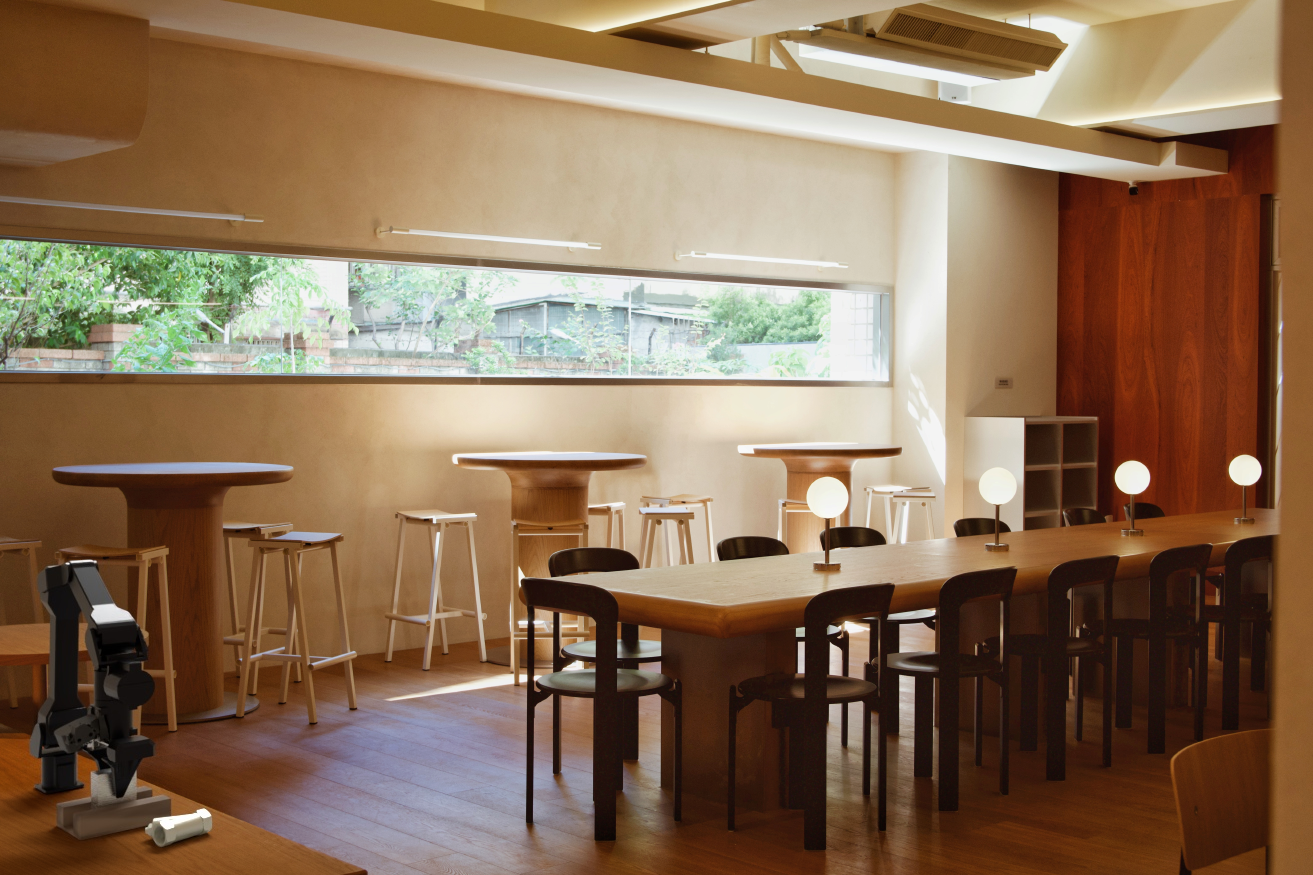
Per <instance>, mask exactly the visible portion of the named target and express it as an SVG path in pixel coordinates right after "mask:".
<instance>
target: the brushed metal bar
mask: <svg viewBox="0 0 1313 875" xmlns="http://www.w3.org/2000/svg"><path fill="white" fill-rule="evenodd" d="M137 779H138V778H137V771H136V772H135V774H134V776H133V778H132V780H131V782H130V784H129V786H128V788H127V791H126V793H125V795H124V797H122V798H116V796H115V791H114V785H113V779H112V772H111V768H108V769H102V770H98V769H97V770H92V771H90V797H91V810H92V809H97V808H102V807H107V806H111V805H116V804H121V803H126V802H131V801H135V800H137V787H138V786H137V784H138V783H137V782H138V780H137Z"/></svg>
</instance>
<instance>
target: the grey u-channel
mask: <svg viewBox="0 0 1313 875" xmlns="http://www.w3.org/2000/svg"><path fill="white" fill-rule="evenodd" d="M153 791H154V790H153V788H151V787H148V786H146V785H143V786H137V800H135V801H131V802H126V803H121V804H116V805H111V806H107V807H102V808H97V809H92V810H91V796H88V797H87V796H86V797H83V798H79V799H78V798H77V799H72V800H67V801H64V802H57V803H56V827H57V828H59V829H61V830H63V831H64V832H66V833H68V834H70V836H73V837H74V838H76V839H77V840H79V841H85V840H88V839H89V840H90V839H94V838H98V837H103V836H107V835H111V834H115V833H119V832H123V831H128V830H129V831H130V830H133V829H138V828H142V827H146V826H147V827H148V826H149V824H151V823H152V822H153V819H154V818H163V817H171V816H172V798H171V797H169V796H168V795H165V794H160V795H156V796H153Z"/></svg>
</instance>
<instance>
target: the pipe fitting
mask: <svg viewBox="0 0 1313 875" xmlns="http://www.w3.org/2000/svg"><path fill="white" fill-rule="evenodd" d="M212 829H213V818H212V815H211V813H210V812H209V811H208V810H207V809H205V808H201V809H197V810H196V811H194V812H193V813H191V814H189V813H188V814H181V815H171V817H163V818H154V819H153V822H152V823H151V824H149V825H147V827H146V826H145V828H144V830H145V831H144V832H145V834H146V835H147V834H148V836H149V837H152V840H153V841H154V843H155V845H156V846H158V847H161V848H162V847H166V846H170V845H172V844H173V843H176V842H178V841H182V840H186V839H189V838H191V837H194V836H201V835H204V834H207V833H208V832H210V831H211V830H212Z"/></svg>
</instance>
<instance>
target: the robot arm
mask: <svg viewBox="0 0 1313 875" xmlns="http://www.w3.org/2000/svg"><path fill="white" fill-rule="evenodd" d="M36 588H37V592H38V593H39V600H40V602H41V603H42V604H43V606H44V607H45V608H46V611H47V612H48V614H49V658H48V659H49V660H48V661H49V664H48V665H49V666H48V667H49V669H48V696H47V698H46V700H45V701H44V703H43V704H42V706H41V707H40V708H39V709H38V713H37V723H35V725H34V727H33V730H32V734H31V736H30V739H29V743H28V744H29V754H30V755H31V756H32V757H34V758H35V759H39V760H40V759H41V760H40V761H41V771H40V772H41V778H40V779H41V782H39V783H38V782H37V783H35V784H34V788H35V789H36V790H39V791H41V792H42V793H44V794H53V793H58V792H62V791H68V790H72V789H74V790H75V789H77V788H78V789H79V788H83V787H85V783H84V782H83V781H80V780H79V779H78V752H85V753H86V755H88V756H89V757H91V758H93V760H94V762H95V765H96V768H97V770H102V769H108V768H111V772H112V779H113V785H114V791H115V796H116V798H122V797H124V795H125V793H126V791H127V788H128V786H129V784H130V782H131V780H132V778H133V776H134V774H135V772H136V773H137V769H138V768H139V766H140V764H141V762H142V761H143V759H146V758H151V757H155V756H156V743H155V742H154V741H153V740H152V739H151V738H149V737H146V736H144V735H138V734H139V732H138V731H139V730H138V728H137V727H135V726H134V711H135V710H138V707H141V706H143V705H145V704H147V703H148V702H149V700H151V698H152V697H153V695H154V692H155V691H156V690H155V689H156V684H155V683H156V682H155V681H154V678H153V676H152V675H151V674H150V673H149V672H148V671H146V670H144V669H143V667H142V666H143V664H142V663H144V662H147V661H148V660H149V657H148V653H149V652H150V650H149V647H148V644H147V641H146V639H145V636H144V633H143V631H142V629H141V626H140V625H139V624H138V623H137V621H136V619H135V618H134V617H133V616H132V614H131V613H130V612H129V611H127V610H126V609H123V608H120V607H118V606H117V605H116V603H115V602H114V600H113V598H112V595H111V594H110V592H109V590H108V588H107V586H106V584H105V582H104V580H103V578H102V577H101V575H100V568H99V564H98V562H97V560H93V559H82V560H81V559H80V560H68V561H67V562H64V563H62V564H60V565H46V566H45V567H44V569H43V570H42V571H40V572H39V573H38V574H37V577H36ZM81 613H82V614H83V616H84V618H85V620H86V622H87V626H86V630H85V634H84V643H85V648H86V650H87V653H88V656H89V658H90V659H91V662H92V667H93V703H89V706H87V707H86V706H85V705H84V703H83V702H82V700H81V699H80V697H79V660H80V659H79V656H80V655H79V652H80V651H79V650H80V648H79V647H80V646H79V645H80V644H79V643H80V615H81ZM134 650H135V651H134Z"/></svg>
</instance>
